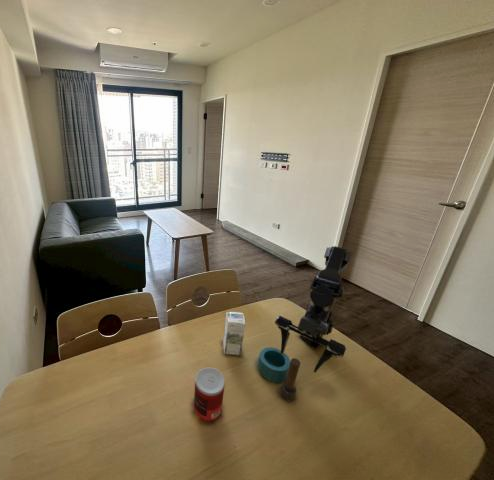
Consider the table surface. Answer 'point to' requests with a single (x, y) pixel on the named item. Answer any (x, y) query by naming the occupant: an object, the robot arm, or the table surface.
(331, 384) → the table surface
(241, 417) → the table surface
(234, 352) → the syrup box
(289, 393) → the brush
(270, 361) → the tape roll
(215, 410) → the canned food
